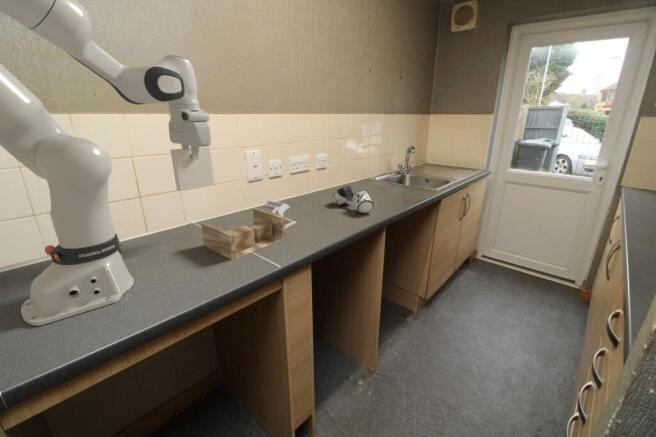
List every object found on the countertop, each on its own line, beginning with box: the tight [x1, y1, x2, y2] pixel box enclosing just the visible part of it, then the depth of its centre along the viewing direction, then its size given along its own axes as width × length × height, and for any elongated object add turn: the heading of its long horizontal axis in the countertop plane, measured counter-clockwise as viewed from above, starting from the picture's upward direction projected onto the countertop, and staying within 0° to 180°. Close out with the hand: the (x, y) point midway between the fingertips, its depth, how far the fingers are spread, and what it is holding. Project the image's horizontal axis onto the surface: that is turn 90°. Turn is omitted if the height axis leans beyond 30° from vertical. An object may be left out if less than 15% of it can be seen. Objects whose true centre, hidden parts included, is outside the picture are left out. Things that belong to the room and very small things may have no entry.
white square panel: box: [170, 146, 215, 192], centre depth 103 cm, size 12×2×13 cm, turn 140°
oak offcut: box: [227, 225, 255, 253], centre depth 101 cm, size 8×5×6 cm, turn 140°
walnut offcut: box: [250, 222, 273, 243], centre depth 108 cm, size 6×4×5 cm, turn 140°
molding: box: [263, 200, 297, 229], centre depth 135 cm, size 42×12×3 cm, turn 16°
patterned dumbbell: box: [332, 184, 375, 215], centre depth 146 cm, size 25×10×10 cm, turn 34°
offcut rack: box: [200, 207, 287, 261], centre depth 105 cm, size 22×16×10 cm
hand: (191, 158), depth 102 cm, fingers closed on white square panel, 2 cm apart
